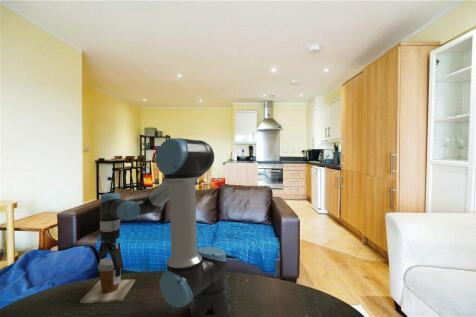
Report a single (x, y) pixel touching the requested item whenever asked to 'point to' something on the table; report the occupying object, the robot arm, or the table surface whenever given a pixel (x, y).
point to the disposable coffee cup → (107, 276)
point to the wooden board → (117, 296)
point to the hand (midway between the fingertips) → (110, 278)
